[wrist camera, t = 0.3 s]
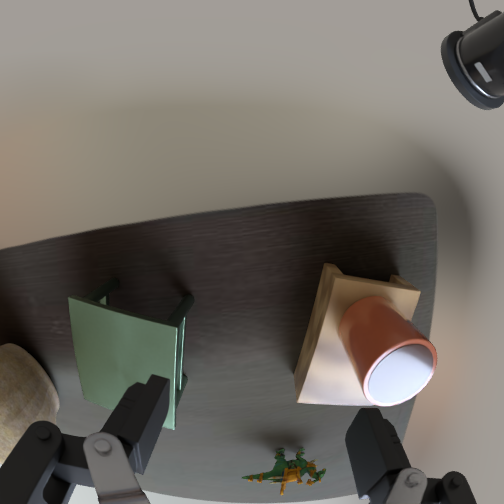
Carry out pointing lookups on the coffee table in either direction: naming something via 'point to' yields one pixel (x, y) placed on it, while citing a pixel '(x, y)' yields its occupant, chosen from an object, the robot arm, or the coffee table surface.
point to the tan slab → (327, 336)
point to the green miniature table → (126, 348)
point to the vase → (22, 396)
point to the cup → (386, 351)
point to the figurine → (289, 471)
